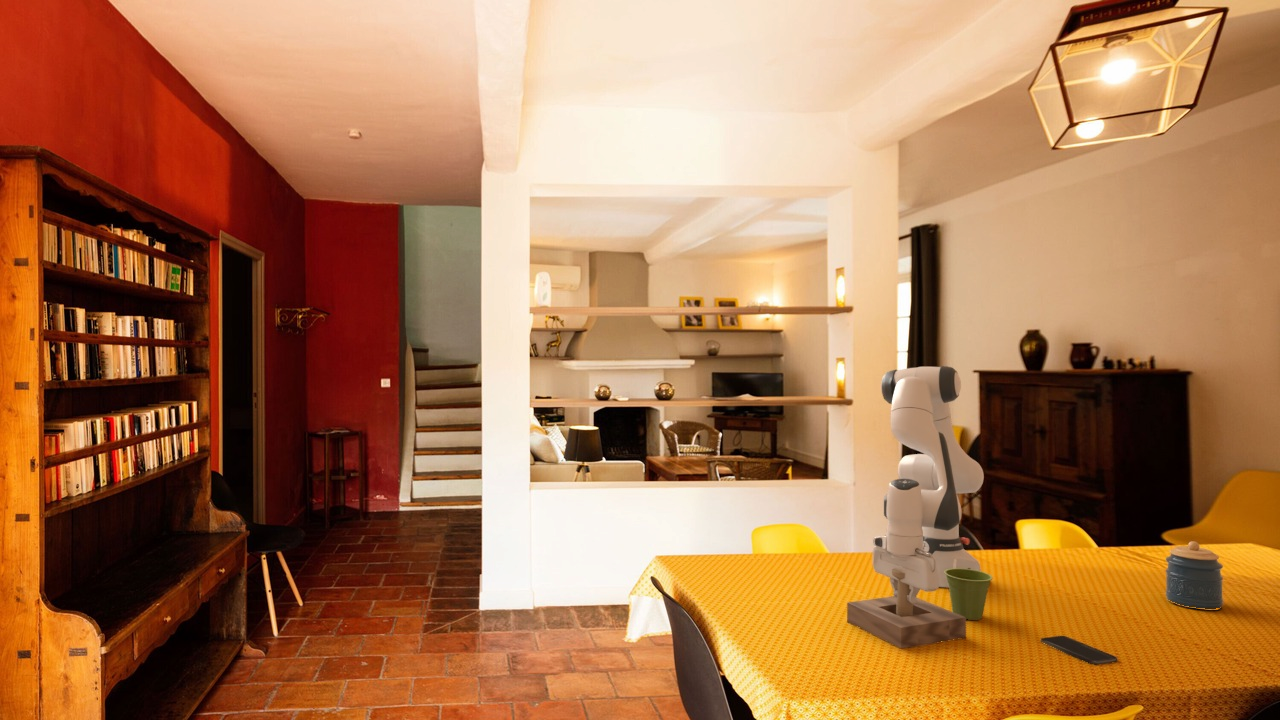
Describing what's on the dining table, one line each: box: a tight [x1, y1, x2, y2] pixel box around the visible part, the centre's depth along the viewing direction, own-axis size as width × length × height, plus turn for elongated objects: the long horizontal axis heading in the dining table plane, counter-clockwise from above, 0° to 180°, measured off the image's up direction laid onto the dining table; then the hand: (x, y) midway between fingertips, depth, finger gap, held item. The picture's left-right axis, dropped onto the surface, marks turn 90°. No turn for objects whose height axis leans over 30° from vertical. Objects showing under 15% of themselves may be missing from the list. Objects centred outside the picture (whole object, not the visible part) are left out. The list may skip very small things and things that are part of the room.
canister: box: [1165, 540, 1224, 609], centre depth 209 cm, size 13×13×18 cm
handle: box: [892, 569, 913, 617], centre depth 187 cm, size 5×6×15 cm
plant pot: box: [944, 568, 993, 621], centre depth 198 cm, size 12×12×11 cm
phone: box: [1040, 635, 1118, 666], centre depth 173 cm, size 8×1×15 cm
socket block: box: [846, 595, 967, 650], centre depth 187 cm, size 20×20×5 cm
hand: (904, 599), depth 187 cm, fingers closed on handle, 3 cm apart
